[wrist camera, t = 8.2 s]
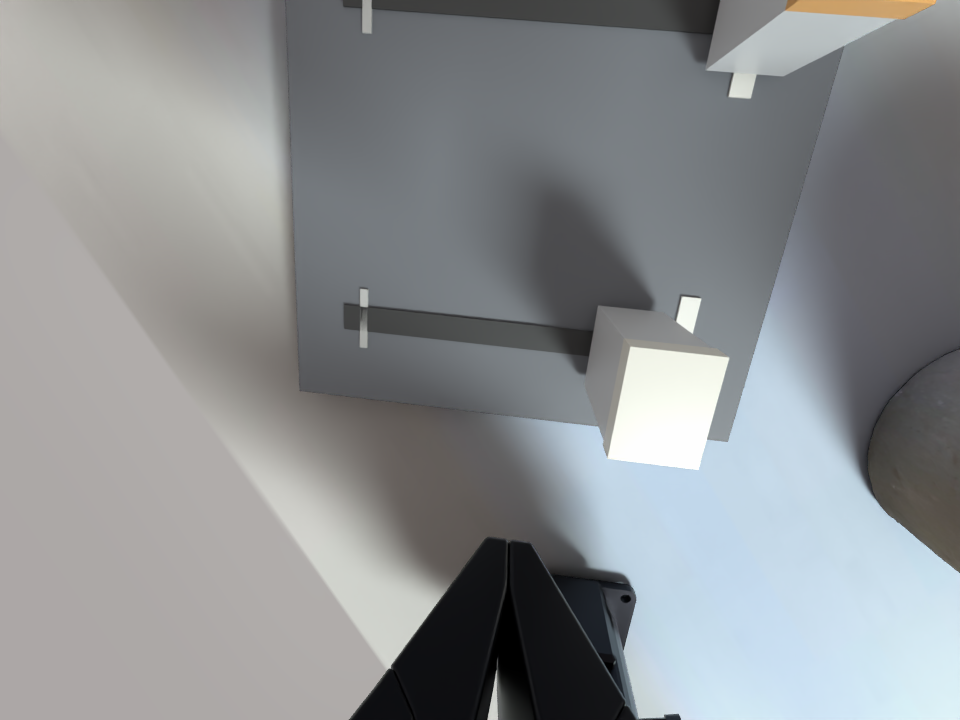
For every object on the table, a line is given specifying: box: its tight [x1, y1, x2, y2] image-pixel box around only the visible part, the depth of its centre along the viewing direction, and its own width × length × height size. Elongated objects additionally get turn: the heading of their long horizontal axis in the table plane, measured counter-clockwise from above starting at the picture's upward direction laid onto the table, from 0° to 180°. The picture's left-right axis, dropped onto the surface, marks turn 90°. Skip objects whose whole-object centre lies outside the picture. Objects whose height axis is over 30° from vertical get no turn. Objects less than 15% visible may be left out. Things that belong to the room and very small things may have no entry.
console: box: [285, 0, 844, 442], centre depth 17 cm, size 18×18×1 cm
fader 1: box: [584, 305, 729, 470], centre depth 15 cm, size 3×2×6 cm
